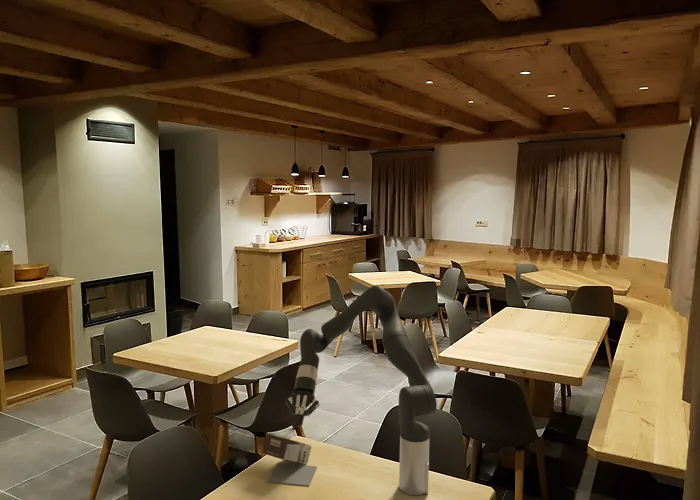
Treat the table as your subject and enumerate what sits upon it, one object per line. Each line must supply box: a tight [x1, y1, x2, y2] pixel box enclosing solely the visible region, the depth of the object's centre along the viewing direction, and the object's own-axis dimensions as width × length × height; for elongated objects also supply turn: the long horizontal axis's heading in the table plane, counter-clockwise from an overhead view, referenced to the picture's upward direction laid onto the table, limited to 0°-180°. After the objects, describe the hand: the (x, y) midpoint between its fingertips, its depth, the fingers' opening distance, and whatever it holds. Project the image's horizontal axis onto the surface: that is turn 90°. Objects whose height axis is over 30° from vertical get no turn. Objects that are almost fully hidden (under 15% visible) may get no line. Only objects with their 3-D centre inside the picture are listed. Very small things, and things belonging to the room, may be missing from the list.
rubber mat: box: [266, 462, 318, 487], centre depth 174 cm, size 14×12×1 cm
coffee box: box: [261, 433, 312, 465], centre depth 177 cm, size 9×6×16 cm
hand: (297, 426), depth 181 cm, fingers closed
